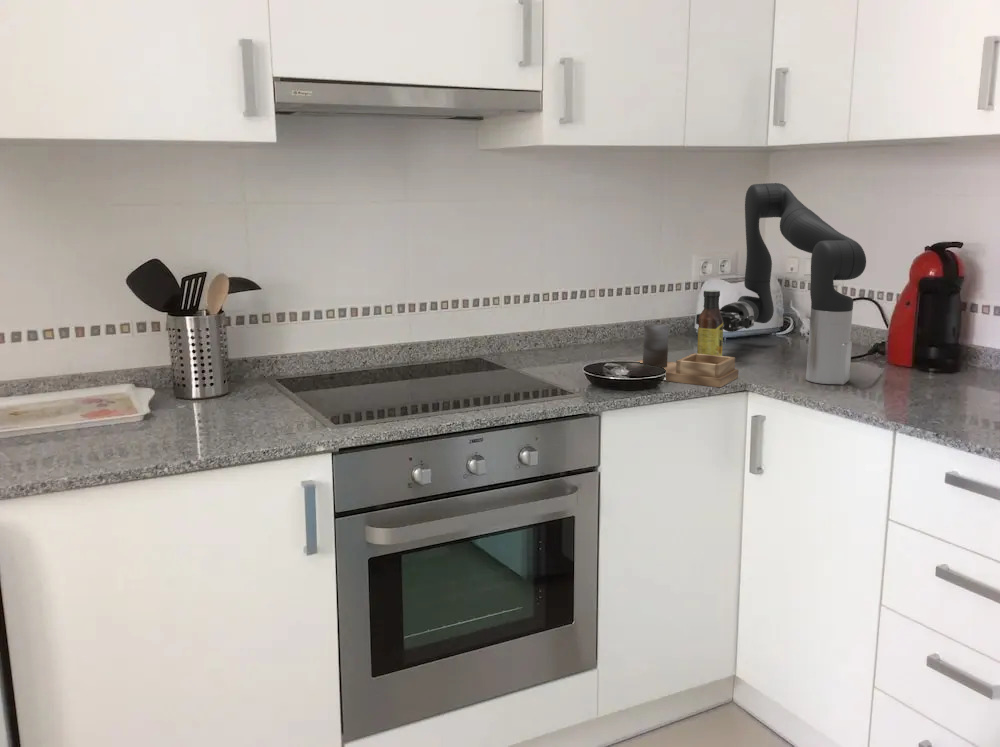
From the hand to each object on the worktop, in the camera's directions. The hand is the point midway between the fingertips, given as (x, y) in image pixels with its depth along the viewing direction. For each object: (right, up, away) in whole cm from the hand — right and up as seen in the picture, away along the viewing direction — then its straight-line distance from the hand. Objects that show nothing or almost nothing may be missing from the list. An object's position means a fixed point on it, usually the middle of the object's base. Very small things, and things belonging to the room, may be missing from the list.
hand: (715, 323), depth 228 cm
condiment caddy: (-11, -14, -11) cm, 21 cm away
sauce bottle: (-2, -12, -1) cm, 12 cm away
